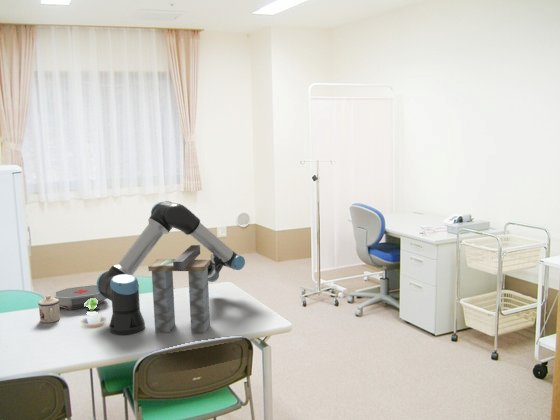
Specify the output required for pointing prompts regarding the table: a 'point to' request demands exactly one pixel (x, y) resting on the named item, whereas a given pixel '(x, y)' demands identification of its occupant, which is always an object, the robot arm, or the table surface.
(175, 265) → the dark grey bar
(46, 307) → the teacup with lid
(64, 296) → the first aid kit
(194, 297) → the bench
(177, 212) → the robot arm
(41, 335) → the table surface
